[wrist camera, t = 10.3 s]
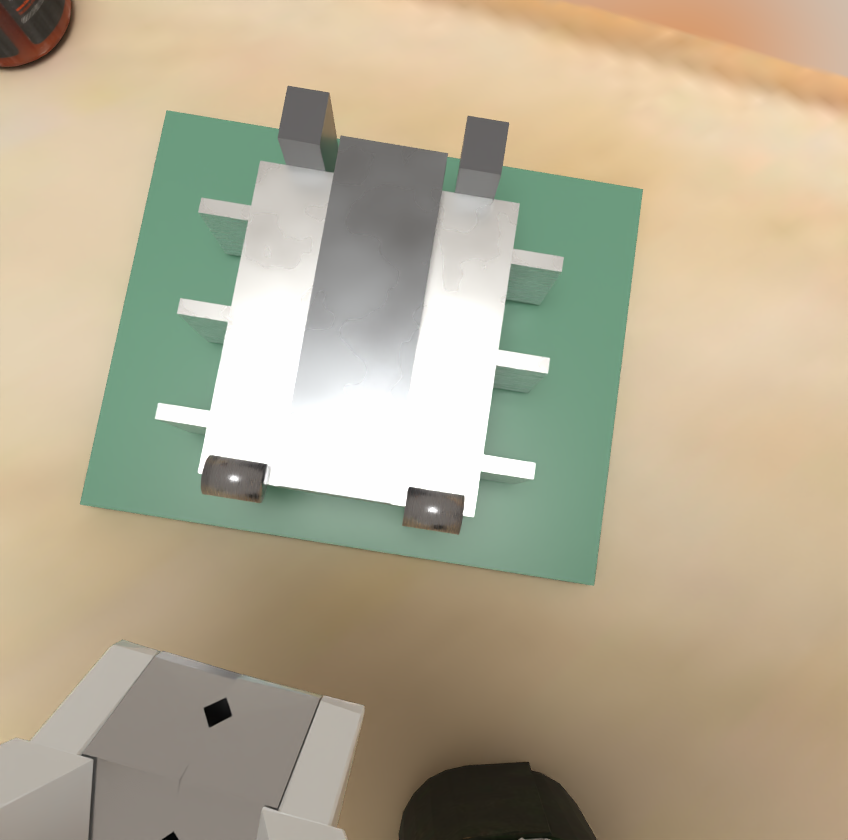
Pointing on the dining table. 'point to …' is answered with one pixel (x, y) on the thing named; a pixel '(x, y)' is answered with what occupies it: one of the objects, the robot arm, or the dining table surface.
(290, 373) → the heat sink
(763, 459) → the dining table surface
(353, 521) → the circuit board
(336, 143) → the posts
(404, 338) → the steel strap
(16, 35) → the supplement bottle
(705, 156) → the dining table surface
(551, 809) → the sushi
